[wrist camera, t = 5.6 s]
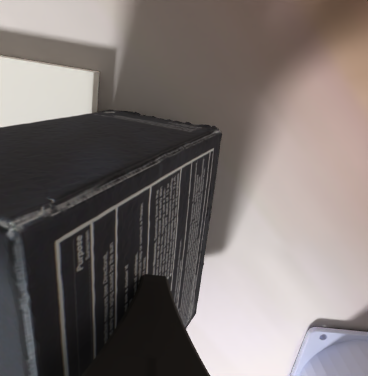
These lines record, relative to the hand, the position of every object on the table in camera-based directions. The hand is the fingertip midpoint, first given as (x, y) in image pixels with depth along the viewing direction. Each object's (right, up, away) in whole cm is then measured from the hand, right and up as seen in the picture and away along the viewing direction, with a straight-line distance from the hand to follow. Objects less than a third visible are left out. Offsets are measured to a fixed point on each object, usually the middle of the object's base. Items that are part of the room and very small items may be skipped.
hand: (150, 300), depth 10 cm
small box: (-1, +2, +7) cm, 7 cm away
